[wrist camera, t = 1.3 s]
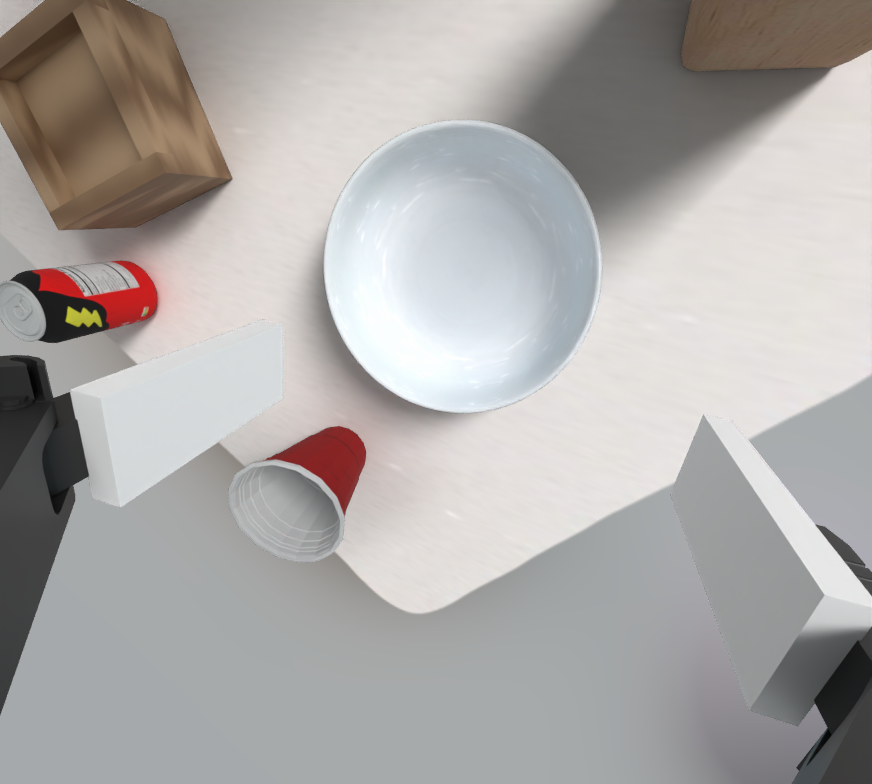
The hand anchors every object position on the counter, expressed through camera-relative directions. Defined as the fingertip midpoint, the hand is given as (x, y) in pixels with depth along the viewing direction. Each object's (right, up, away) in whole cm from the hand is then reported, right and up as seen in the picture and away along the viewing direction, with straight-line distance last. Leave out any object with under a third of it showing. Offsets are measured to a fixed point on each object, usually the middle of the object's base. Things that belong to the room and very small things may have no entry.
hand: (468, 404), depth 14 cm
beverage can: (-33, +12, +35) cm, 49 cm away
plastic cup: (-11, -6, +36) cm, 38 cm away
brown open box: (-28, +24, +28) cm, 46 cm away
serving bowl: (+2, +11, +25) cm, 28 cm away
